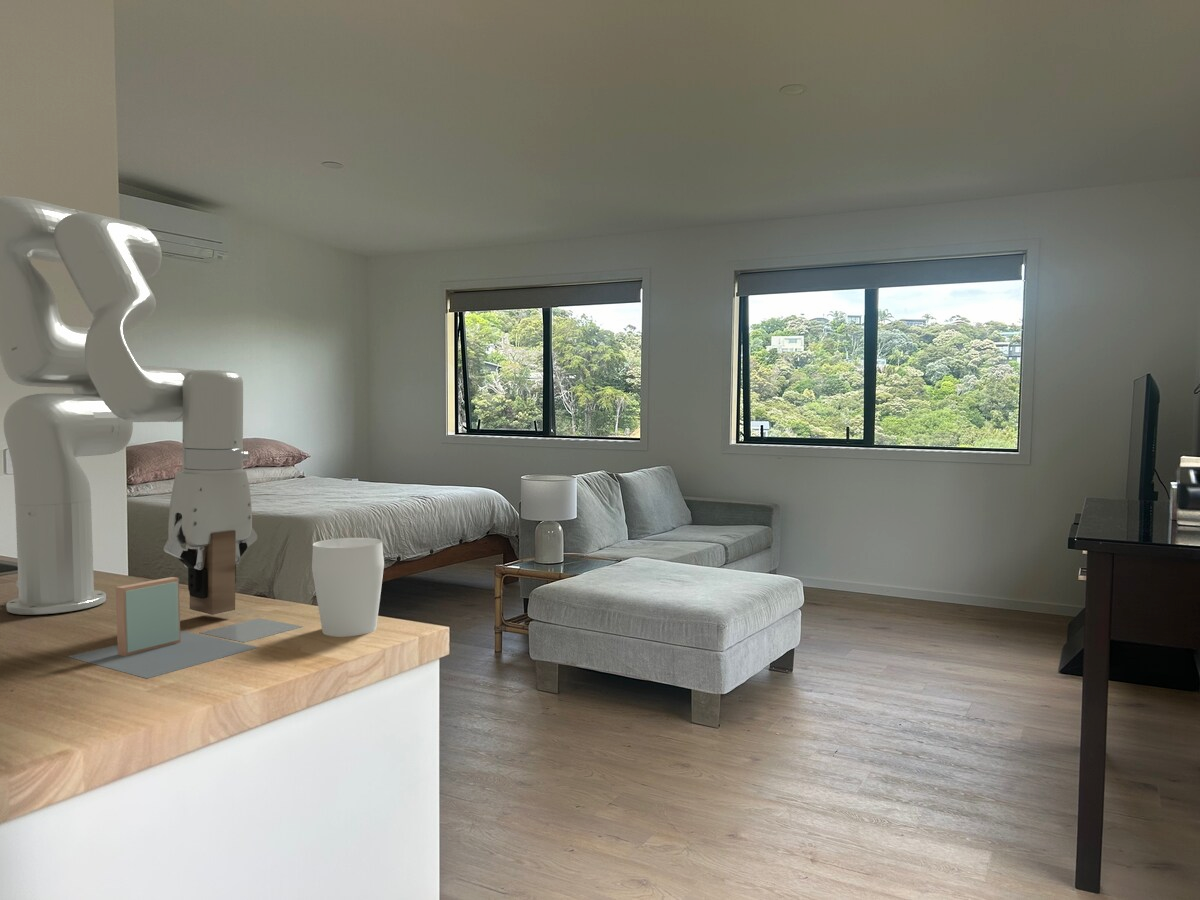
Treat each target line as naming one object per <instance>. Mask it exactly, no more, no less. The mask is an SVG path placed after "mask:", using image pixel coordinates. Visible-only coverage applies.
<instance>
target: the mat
mask: <svg viewBox="0 0 1200 900" xmlns="http://www.w3.org/2000/svg"><path fill="white" fill-rule="evenodd" d="M180 637H181V642H180V643H176V644H172V645H168V646H164V647H160V648H156V649H152V650H148V651H144V652H140V653H136V654H132V655H128V656H122V655H118V644H115V645H110V646H107V647H105V646H104V647H103V648H102V647H101V648H97V649H93V650H89V651H85V652H82V653H81V652H80V653H76V654H73V655H68V656H67V658H70V659H73V660H78V661H81V662H84V663H89V664H91V665H96V666H97V667H98V666H99V667H103V668H106V669H110V670H113V671H118V672H122V673H124V674H128V675H132V676H135V677H138V678H142V679H146V680H148V679H151V678H155V677H158V676H159V677H160V676H162V675H167V674H170V673H174V672H176V671H180V670H185V669H187V668H191V667H194V666H198V665H201V664H205V663H209V662H213V661H216V660H217V661H218V660H221V659H223V658H227V657H230V656H234V655H238V654H241V653H245V652H247V651H252V650H255V649H258V648H259V649H260V647H259V646H255V645H251V644H246V643H243V642H238V641H234V640H229V639H224V638H220V637H215V636H211V635H206V634H201V633H194V632H192V631H191V632H189V631H186V630H181V629H180Z"/></svg>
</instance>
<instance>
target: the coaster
mask: <svg viewBox="0 0 1200 900" xmlns="http://www.w3.org/2000/svg"><path fill="white" fill-rule="evenodd" d="M303 627H304V626H302V625H298V624H291V623H287V622H283V621H276V620H273V619H266V618H262V617H258V618H253V619H249V620H246V621H241V622H237V623H234V624H229V625H224V626H221V627H216V628H213V629H208V630H205V631H200V632H199V634H200V635H205V636H210V637H214V638H219V639H224V640H228V641H233V642H238V643H242V644H246V643H249V642H251V641H255V640H259V639H264V638H266V637H270V636H274V635H278V634H282V633H285V632H289V631H293V630H296V629H301V628H303Z"/></svg>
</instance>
